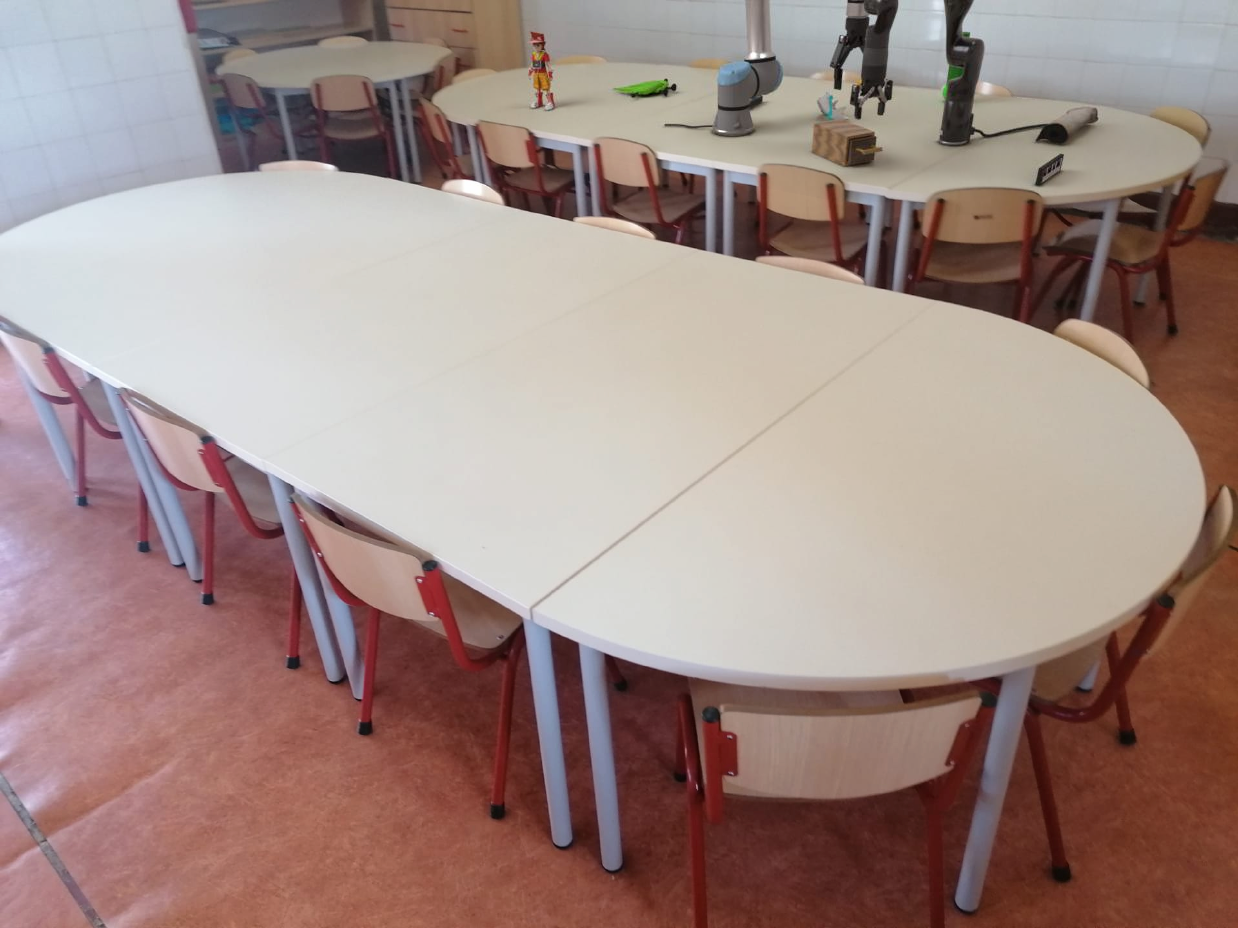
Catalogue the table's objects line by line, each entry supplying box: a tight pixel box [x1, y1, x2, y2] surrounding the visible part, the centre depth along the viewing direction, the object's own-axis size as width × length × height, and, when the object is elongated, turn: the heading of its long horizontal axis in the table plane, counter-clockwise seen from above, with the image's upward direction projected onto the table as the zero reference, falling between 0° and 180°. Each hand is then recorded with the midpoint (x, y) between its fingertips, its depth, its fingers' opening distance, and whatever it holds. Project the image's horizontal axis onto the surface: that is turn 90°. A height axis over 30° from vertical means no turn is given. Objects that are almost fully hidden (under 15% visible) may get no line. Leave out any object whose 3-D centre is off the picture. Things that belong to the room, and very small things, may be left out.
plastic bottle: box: [942, 31, 971, 100], centre depth 348 cm, size 10×10×25 cm
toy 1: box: [527, 31, 556, 111], centre depth 374 cm, size 12×9×30 cm
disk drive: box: [749, 95, 764, 110], centre depth 367 cm, size 10×3×15 cm
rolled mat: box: [1035, 106, 1099, 146], centre depth 310 cm, size 30×9×10 cm
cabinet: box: [811, 119, 876, 167], centre depth 301 cm, size 20×11×10 cm, turn 22°
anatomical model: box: [816, 91, 851, 121], centre depth 342 cm, size 15×10×10 cm
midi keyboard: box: [1035, 153, 1065, 186], centre depth 273 cm, size 18×1×5 cm, turn 138°
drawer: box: [847, 135, 883, 166], centre depth 297 cm, size 24×9×8 cm, turn 22°
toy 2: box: [612, 78, 677, 99], centre depth 396 cm, size 28×5×30 cm
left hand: (851, 86), depth 303 cm, fingers open, 13 cm apart
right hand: (869, 117), depth 284 cm, fingers open, 8 cm apart
